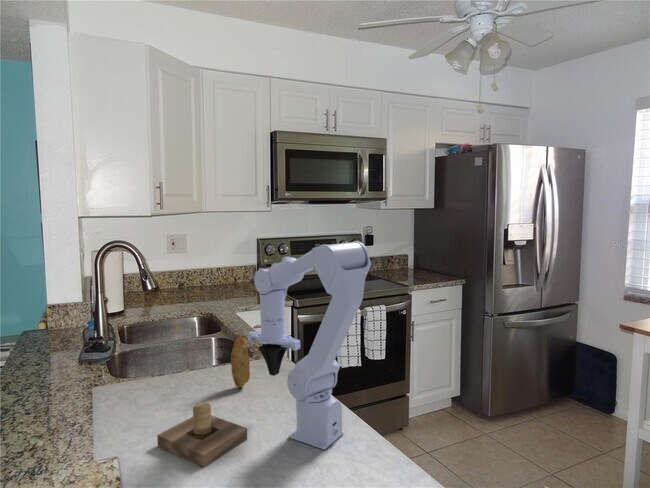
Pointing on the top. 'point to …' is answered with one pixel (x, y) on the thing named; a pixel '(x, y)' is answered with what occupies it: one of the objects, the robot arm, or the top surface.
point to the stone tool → (240, 362)
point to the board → (202, 450)
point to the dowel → (202, 420)
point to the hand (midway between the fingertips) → (274, 373)
